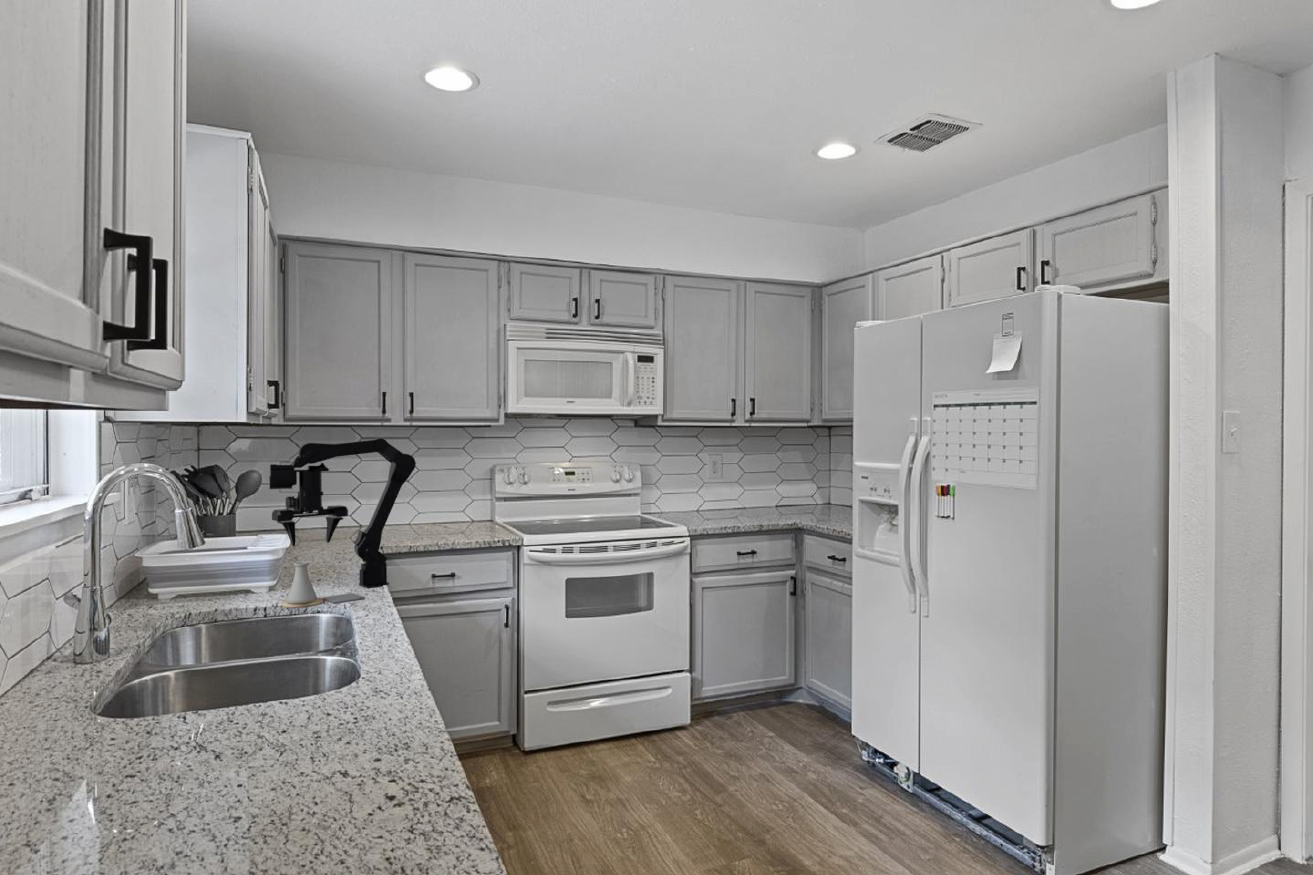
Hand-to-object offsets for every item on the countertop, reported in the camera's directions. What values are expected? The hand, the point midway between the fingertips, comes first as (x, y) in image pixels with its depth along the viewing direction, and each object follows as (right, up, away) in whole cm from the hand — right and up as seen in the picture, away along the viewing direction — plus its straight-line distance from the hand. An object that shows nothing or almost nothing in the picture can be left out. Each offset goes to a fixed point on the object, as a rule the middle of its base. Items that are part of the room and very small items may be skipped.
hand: (311, 544), depth 217 cm
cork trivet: (+4, -13, -15) cm, 20 cm away
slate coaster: (+13, -13, -10) cm, 21 cm away
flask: (+4, -13, -15) cm, 20 cm away
